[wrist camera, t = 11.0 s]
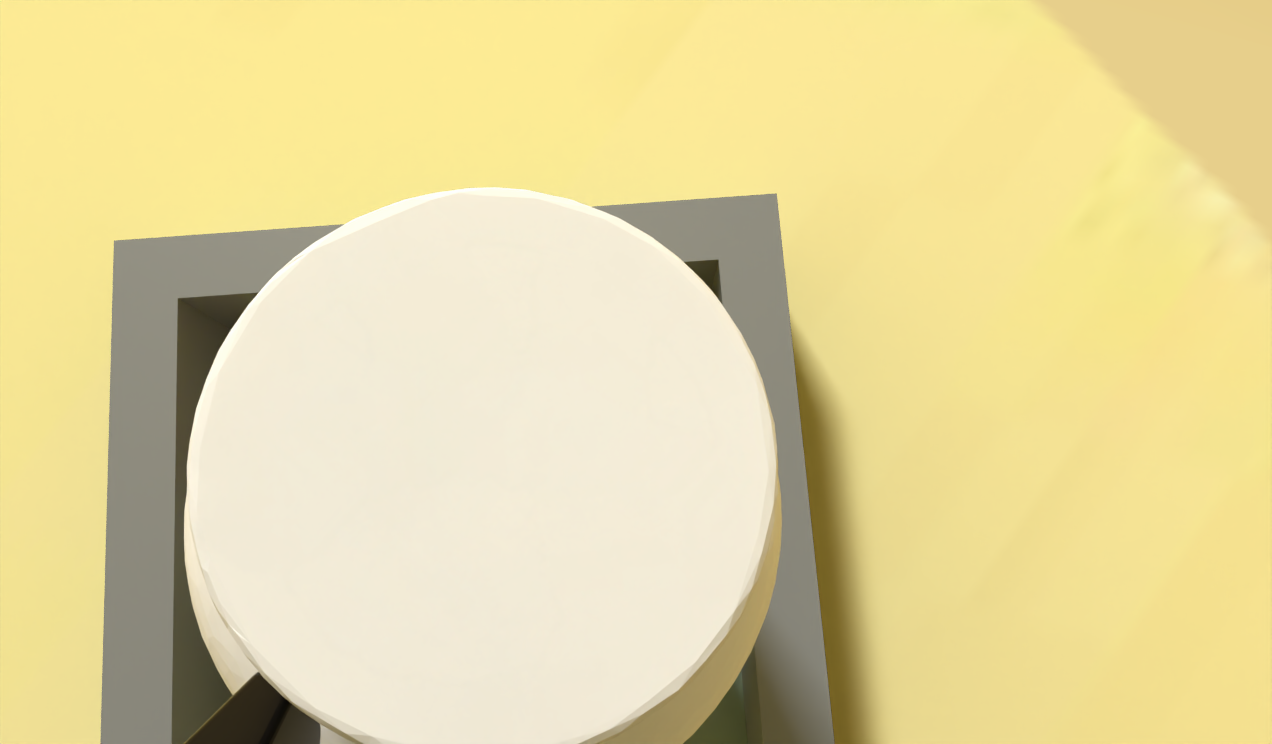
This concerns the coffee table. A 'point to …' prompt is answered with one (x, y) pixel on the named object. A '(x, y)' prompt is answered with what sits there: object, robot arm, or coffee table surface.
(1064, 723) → the coffee table surface
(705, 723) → the grey tray
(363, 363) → the supplement bottle
